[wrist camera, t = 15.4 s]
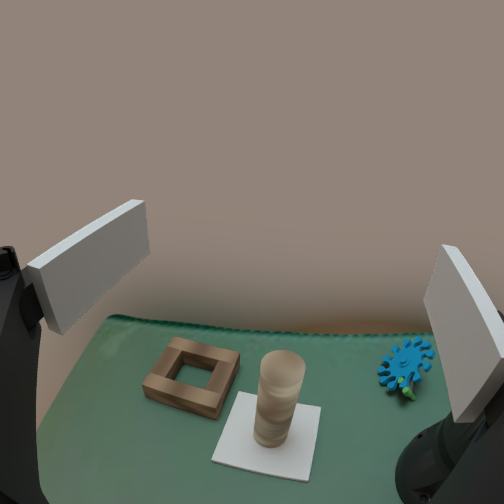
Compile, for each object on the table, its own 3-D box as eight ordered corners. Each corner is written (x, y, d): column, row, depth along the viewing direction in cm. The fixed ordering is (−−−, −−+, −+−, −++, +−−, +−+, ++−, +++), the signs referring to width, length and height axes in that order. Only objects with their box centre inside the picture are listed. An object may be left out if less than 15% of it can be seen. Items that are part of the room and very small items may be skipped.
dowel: (290, 424, 37) (308, 354, 31) (283, 451, 33) (301, 386, 27) (258, 417, 38) (266, 346, 32) (249, 443, 34) (255, 376, 28)
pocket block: (239, 365, 47) (239, 352, 46) (216, 419, 38) (215, 408, 37) (176, 349, 50) (174, 336, 48) (145, 396, 40) (141, 384, 39)
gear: (379, 345, 50) (431, 326, 43) (394, 364, 51) (443, 347, 44) (371, 398, 41) (431, 382, 35) (387, 415, 42) (443, 400, 36)
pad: (320, 409, 40) (321, 407, 40) (307, 482, 30) (308, 480, 29) (238, 393, 42) (238, 391, 42) (211, 461, 32) (211, 459, 32)
